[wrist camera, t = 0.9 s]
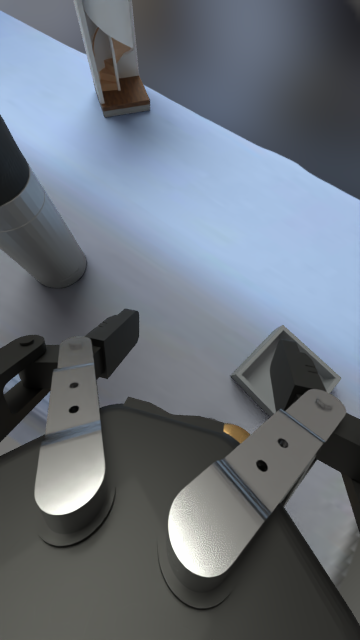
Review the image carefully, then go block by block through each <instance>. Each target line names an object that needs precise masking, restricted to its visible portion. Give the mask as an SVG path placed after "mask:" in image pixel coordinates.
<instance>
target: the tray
mask: <svg viewBox="0 0 360 640" xmlns="http://www.w3.org/2000/svg"><path fill="white" fill-rule="evenodd" d="M280 339H285V340H290V341H295V342H296V343H297V345H298V348H299V350H300V352H303V353H306V354H307V355H308V356H309V357H310V358H311V359H312V360H313V362H314V365H315V368H316V369H317V371H318V374H319V376H320V378H321V380H322V382H323V384H324V387H325V389H326V391H327V392H328V393H330V392H331V391H332V390H333V389H334V387H335V386H336V385H337V384H338V382H339V381H340V380H341V377H340V376H339V375H338V374H336V373H335V372H334V371H333V370H332V369H331V368H330V367H329V366H328V365H327V364H325V363H324V362H323V361H322V360H321V359H320V358H319V357H318V356H317V355H316V354H314V353H313V352H312V351H311V350H310V349H309V348H308V347H307V346H306V345H305V344H303V343H302V342H301V341H300V340H299V339H298V338H297V337H296V336H295V335H294V334H292V333H291V332H290V331H289V330H288V329H287V328H286V327H285V326H284V325H282V326H280V327H278V328H277V329H275V330H274V331H273V332H272V333H271V334H270V335H269V336H268V337H267V338H266V339H265V340H264V341H263V342H262V343H261V344H260V345H259V346H258V347H257V349H256V350H255V351H254V352H253V353H252V354H251V355H250V356H249V357H248V358H247V359H246V360H245V361H244V362H243V363H242V364H241V365H240V366H239V367H238V368H237V369H236V370H235V371H234V372H233V374H232V375H231V377H232V378H233V379H234V380H235V381H236V382H237V383H238V384H239V385H240V386H241V387H242V388H243V390H244V391H245V392H246V393H247V394H248V395H249V396H250V397H251V398H252V399H253V400H254V401H255V402H256V403H257V404H258V405H259V406H260V407H261V408H262V409H263V410H264V411H265V412H266V413H267V414H268V415H269V416H270V417H271V416H272V415H274V414H275V413H276V409H275V403H274V397H273V390H272V384H271V378H270V365H271V361H272V359H273V356H274V353H275V350H276V347H277V344H278V341H279V340H280Z"/></svg>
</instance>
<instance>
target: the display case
mask: <svg viewBox="0 0 360 640" xmlns="http://www.w3.org/2000/svg"><path fill="white" fill-rule="evenodd" d="M73 1H74V5H75V9H76V13H77V17H78V21H79V25H80V29H81V33H82V37H83V41H84V46H85V50H86V54H87V58H88V62H89V66H90V70H91V74H92V78H93V82H94V86H95V90H96V93H97V96H98V99H99V102H100V105H101V108H102V111H103V114H104V117H111V116H117V115H123V114H130V113H136V112H142V111H148V110H150V99H149V97H148V95H147V93H146V90H145V88H144V86H143V84H142V81H141V79H140V77H139V71H138V60H137V50H136V40H135V29H134V19H133V9H132V0H73Z"/></svg>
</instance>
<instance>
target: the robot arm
mask: <svg viewBox="0 0 360 640" xmlns="http://www.w3.org/2000/svg"><path fill="white" fill-rule="evenodd" d="M0 249H1V250H3V251H4V252H5V253H6V254H7V255H9V256H10V257H11V258H12V259H13V260H14V261H16V262H17V263H18V264H19V265H20V266H21V267H23V268H24V269H25V270H26V271H27V272H28V273H30V274H31V275H32V276H33V277H34V278H35V279H37V280H38V281H39V282H40V283H42V284H43V285H45V286H47V287H51V288H62V287H66V286H69V285H71V284H73V283H75V282H76V281H77V280H78V279H80V277H81V276H82V275H83V273H84V271H85V269H86V257H85V255H84V253H83V251H82V250H81V248H80V247H79V245H78V243H77V242H76V240H75V238H74V237H73V235H72V233H71V232H70V230H69V229H68V227H67V225H66V224H65V222H64V220H63V219H62V217H61V216H60V214H59V212H58V211H57V209H56V208H55V206H54V204H53V203H52V201H51V199H50V198H49V196H48V195H47V193H46V191H45V190H44V188H43V187H42V185H41V184H40V182H39V180H38V179H37V177H36V176H35V174H34V172H33V171H32V169H31V167H30V166H29V164H28V163H27V161H26V159H25V158H24V156H23V155H22V153H21V151H20V150H19V148H18V146H17V144H16V142H15V141H14V139H13V137H12V135H11V133H10V131H9V129H8V127H7V126H6V124H5V122H4V120H3V118H2V117H1V115H0ZM138 338H139V312H138V311H135V310H130V309H124V310H123V311H122V312H121V313H119V314H118V315H114V316H112V317H109V318H107V319H106V320H105V321H103V323H101V324H100V325H98V326H97V327H96V328H95V329H93V330H92V331H91V332H90V333H88V334H87V335H86V336H85V337H84V336H75V337H71V338H68V339H66V340H64V341H63V342H62V343H61V344H60V345H45V341H44V338H43V337H42V336H39V335H28V336H23V337H20V338H17V339H15V340H14V341H12V342H10V343H9V344H7V345H6V346H4V347H2V348H1V349H0V442H1V441H2V440H3V439H4V438H5V437H6V436H7V435H8V434H9V433H10V432H11V431H12V430H13V429H14V428H15V427H16V426H17V425H18V424H19V423H20V421H21V420H22V419H23V418H24V417H25V416H26V415H27V414H28V413H29V412H30V411H31V410H32V409H33V408H34V407H35V406H36V405H37V404H38V403H39V402H40V401H41V400H42V399H43V398H44V397H45V396H46V395H47V394H48V393H49V392H50V391H51V392H50V400H49V408H48V416H47V425H46V433H45V435H43V436H41V437H39V438H36V439H34V440H32V441H30V442H28V443H26V444H24V445H22V446H20V447H18V448H16V449H14V450H12V451H10V452H8V453H6V454H3V455H2V456H0V640H360V625H359V623H358V622H357V620H356V618H355V617H354V615H353V613H352V611H351V610H350V609H349V607H348V606H347V604H346V602H345V601H344V599H343V598H342V596H341V595H340V593H339V591H338V590H337V588H336V587H335V585H334V584H333V582H332V581H331V579H330V577H329V576H328V574H327V573H326V571H325V570H324V568H323V567H322V565H321V564H320V562H319V560H318V559H317V557H316V556H315V554H314V553H313V551H312V550H311V548H310V547H309V545H308V544H307V542H306V540H305V539H304V537H303V536H302V534H301V533H300V531H299V530H298V528H297V527H296V525H295V524H294V522H293V520H292V519H291V517H290V516H289V514H288V513H287V511H286V510H285V508H284V507H285V505H286V504H287V502H288V501H289V499H290V498H291V496H292V495H293V493H294V492H295V490H296V489H297V487H298V486H299V485H300V483H301V482H302V480H303V479H304V478H305V476H306V475H307V473H308V472H309V471H310V469H311V468H312V466H313V465H314V464H315V462H316V461H317V459H318V460H319V461H321V462H323V463H325V464H327V465H328V466H330V467H332V468H334V469H336V470H337V471H339V472H341V474H342V477H343V481H344V484H345V487H346V490H347V494H348V497H349V500H350V503H351V506H352V510H353V513H354V516H355V519H356V523H357V526H358V529H359V532H360V419H358V418H356V417H354V416H352V415H350V414H348V413H346V409H345V406H344V405H343V404H342V402H341V401H340V400H338V399H337V398H336V397H335V396H333V395H331V394H330V393H328V392H327V391H326V389H325V387H324V384H323V382H322V380H321V378H320V376H319V374H318V371H317V369H316V368H315V365H314V362H313V360H312V359H311V358H310V357H309V356H308V355H307V354H306V353H303V352H300V350H299V348H298V345H297V343H296V342H295V341H290V340H285V339H280V340H279V341H278V344H277V347H276V350H275V353H274V356H273V359H272V361H271V365H270V378H271V384H272V390H273V397H274V403H275V409H276V413H275V414H274V415H272V416H271V417H270V418H269V419H268V420H267V421H266V422H265V423H263V424H262V425H261V426H260V427H259V428H258V429H257V430H256V431H254V432H253V433H252V434H251V435H250V436H249V437H248V438H247V439H245V440H244V441H243V442H242V443H241V444H240V443H239V442H238V441H237V440H236V439H234V438H233V437H232V436H230V435H229V434H227V433H225V432H224V423H223V422H219V421H215V420H212V419H208V418H204V417H201V416H187V415H173V414H170V413H168V412H166V411H164V410H163V409H161V408H159V407H157V406H155V405H153V404H152V403H149V402H146V401H142V400H138V399H135V398H131V397H128V398H127V400H126V401H125V403H124V404H114V405H108V406H104V407H102V408H100V406H99V398H98V389H97V381H96V380H97V379H98V378H99V377H102V378H106V379H108V378H109V377H110V375H111V374H112V373H113V372H114V370H115V369H116V368H117V367H118V366H119V364H120V363H121V362H122V361H123V359H124V358H125V357H126V356H127V354H128V353H129V352H130V351H131V349H132V348H133V347H134V346H135V344H136V343H137V341H138ZM18 373H19V376H20V379H21V381H20V382H19V383H18V384H16V385H15V386H14V387H13V388H12V389H10V390H9V391H8V392H7V393H6V394H3V389H4V386H5V385H6V383H7V382H8V381H10V380H11V379H12V378H13V377H15V376H16V375H17V374H18Z"/></svg>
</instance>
